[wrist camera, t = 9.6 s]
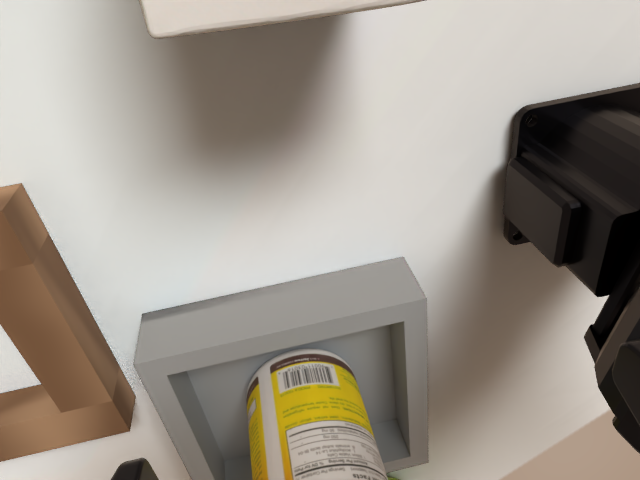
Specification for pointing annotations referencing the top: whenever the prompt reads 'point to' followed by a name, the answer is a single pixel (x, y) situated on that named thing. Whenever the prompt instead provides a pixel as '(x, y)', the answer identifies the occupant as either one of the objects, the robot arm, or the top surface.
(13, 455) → the wooden rectangular frame
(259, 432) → the supplement bottle
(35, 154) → the top surface
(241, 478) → the parts tray
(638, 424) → the robot arm
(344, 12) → the product box
